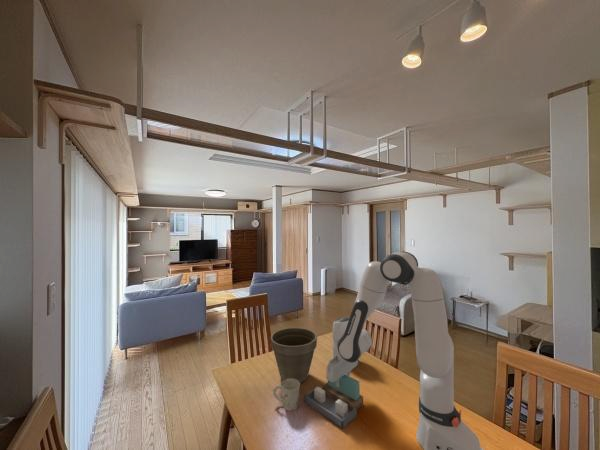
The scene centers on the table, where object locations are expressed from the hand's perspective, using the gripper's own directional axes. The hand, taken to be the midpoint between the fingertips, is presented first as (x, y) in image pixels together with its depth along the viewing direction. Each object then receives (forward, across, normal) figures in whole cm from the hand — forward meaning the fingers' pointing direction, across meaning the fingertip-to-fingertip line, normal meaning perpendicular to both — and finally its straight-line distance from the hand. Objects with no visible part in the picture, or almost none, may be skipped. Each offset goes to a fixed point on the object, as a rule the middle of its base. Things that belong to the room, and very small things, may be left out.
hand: (342, 382), depth 117 cm
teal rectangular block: (+4, 0, 0) cm, 4 cm away
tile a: (+4, -8, -6) cm, 11 cm away
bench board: (+7, -1, 0) cm, 7 cm away
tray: (+7, -10, 0) cm, 12 cm away
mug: (+7, -22, +15) cm, 28 cm away
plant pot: (+7, -4, +29) cm, 30 cm away
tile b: (+4, -8, +6) cm, 11 cm away
